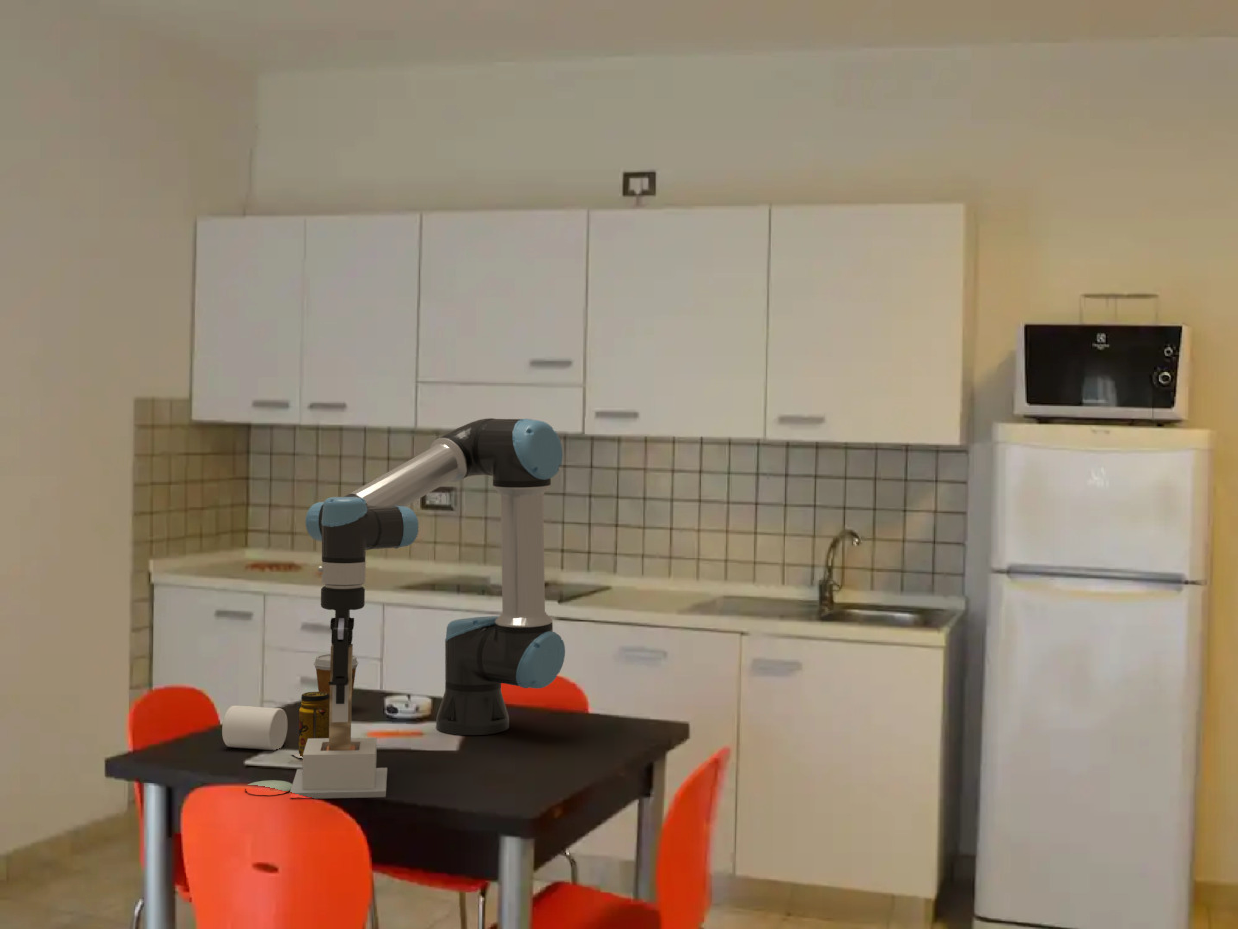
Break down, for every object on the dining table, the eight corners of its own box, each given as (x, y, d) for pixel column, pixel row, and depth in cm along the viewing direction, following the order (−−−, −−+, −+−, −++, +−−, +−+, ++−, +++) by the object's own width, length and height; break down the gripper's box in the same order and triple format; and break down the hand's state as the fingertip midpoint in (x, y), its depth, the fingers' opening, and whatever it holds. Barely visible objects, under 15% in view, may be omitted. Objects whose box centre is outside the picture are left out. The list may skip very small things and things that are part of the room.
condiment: (289, 755, 268) (290, 693, 267) (328, 749, 274) (329, 687, 273) (309, 763, 262) (310, 699, 262) (348, 756, 268) (349, 693, 268)
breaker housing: (387, 773, 256) (387, 735, 256) (385, 797, 240) (386, 756, 240) (297, 774, 254) (297, 736, 253) (289, 799, 238) (290, 757, 238)
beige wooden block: (350, 745, 249) (352, 644, 248) (349, 750, 245) (351, 647, 244) (329, 745, 248) (331, 643, 248) (328, 750, 245) (330, 647, 244)
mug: (269, 754, 268) (270, 713, 268) (221, 751, 270) (221, 709, 270) (296, 740, 280) (296, 700, 280) (249, 737, 282) (250, 697, 282)
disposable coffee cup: (364, 709, 310) (365, 655, 310) (346, 718, 301) (347, 662, 300) (324, 706, 312) (325, 652, 312) (305, 715, 303) (306, 659, 303)
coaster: (294, 783, 248) (294, 780, 248) (290, 795, 240) (290, 792, 240) (247, 784, 247) (247, 780, 247) (242, 796, 239) (242, 793, 239)
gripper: (324, 580, 253) (321, 709, 254) (318, 591, 237) (315, 729, 238) (366, 580, 254) (363, 709, 255) (363, 591, 238) (360, 729, 239)
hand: (340, 718), depth 246 cm, fingers closed on beige wooden block, 4 cm apart
